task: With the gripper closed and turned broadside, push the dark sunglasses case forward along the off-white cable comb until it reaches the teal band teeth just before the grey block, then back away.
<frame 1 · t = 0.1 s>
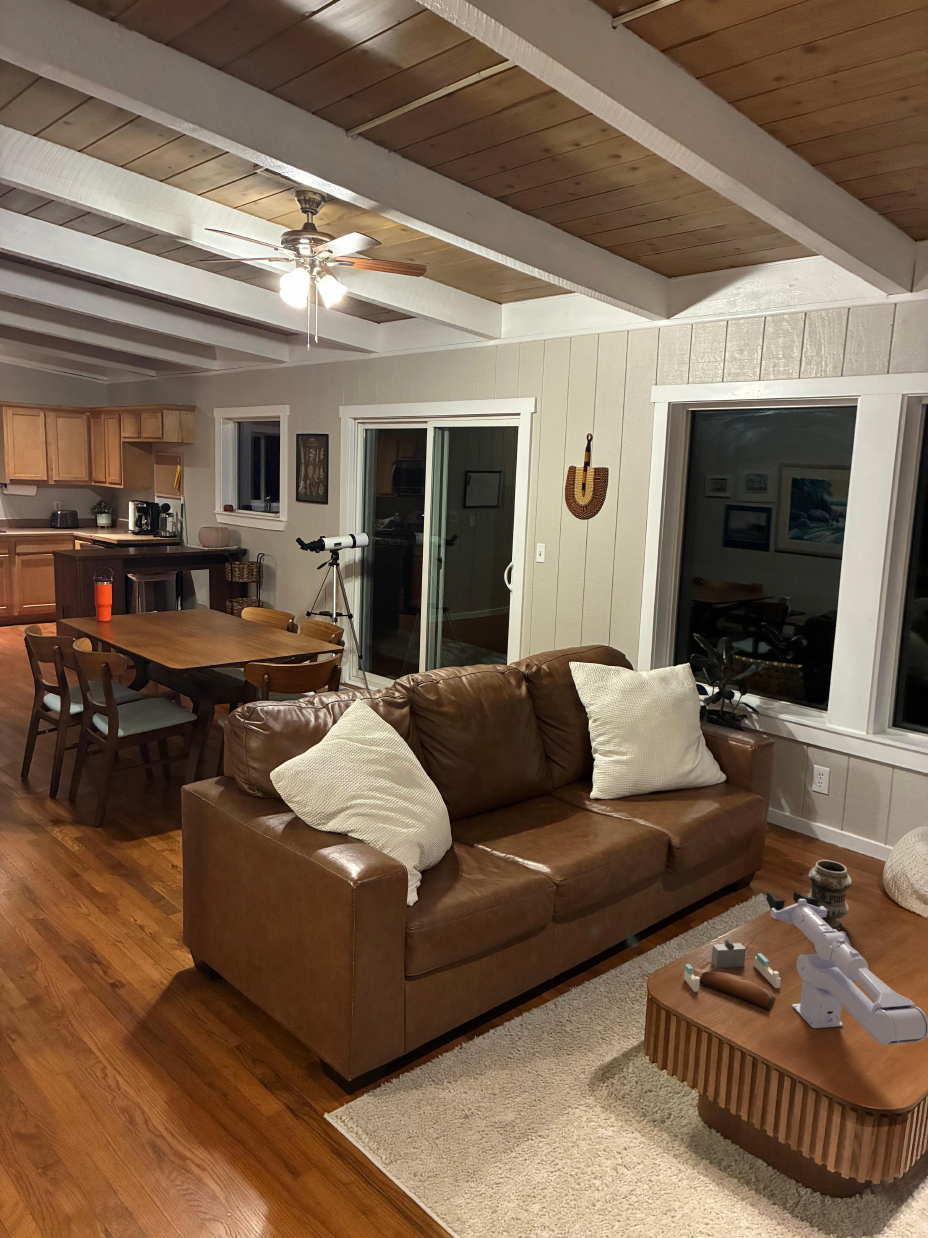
hand: (781, 895, 236), 22 cm above the table, tool horizontal, fingers open, 7 cm apart
sunglasses case: (738, 993, 230), on the table
apothecary jar: (824, 923, 268), on the table
cable comb: (728, 980, 234), on the table
grey block: (727, 964, 242), on the table
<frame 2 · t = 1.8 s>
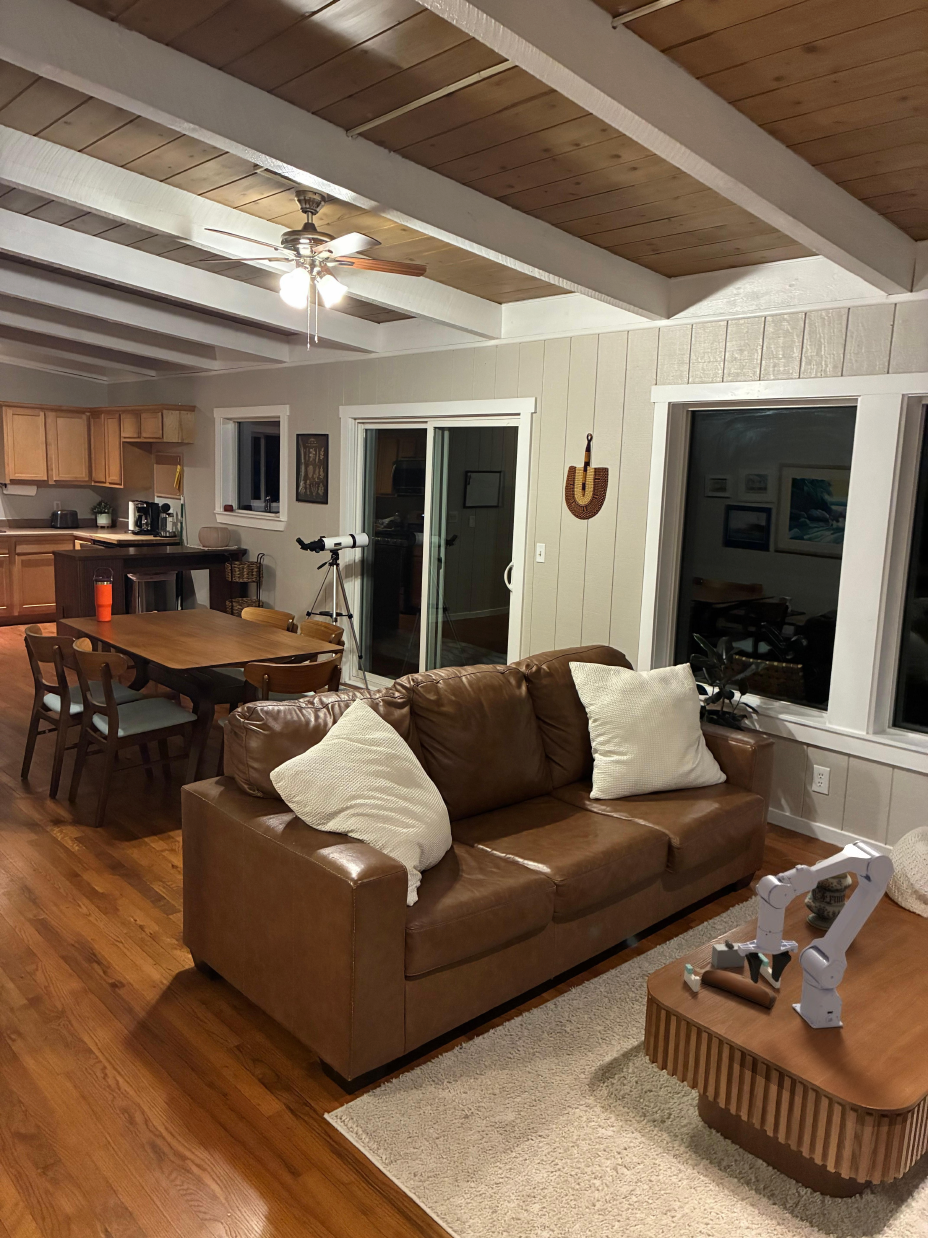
hand: (764, 980, 216), 10 cm above the table, tool pointing down, fingers open, 5 cm apart
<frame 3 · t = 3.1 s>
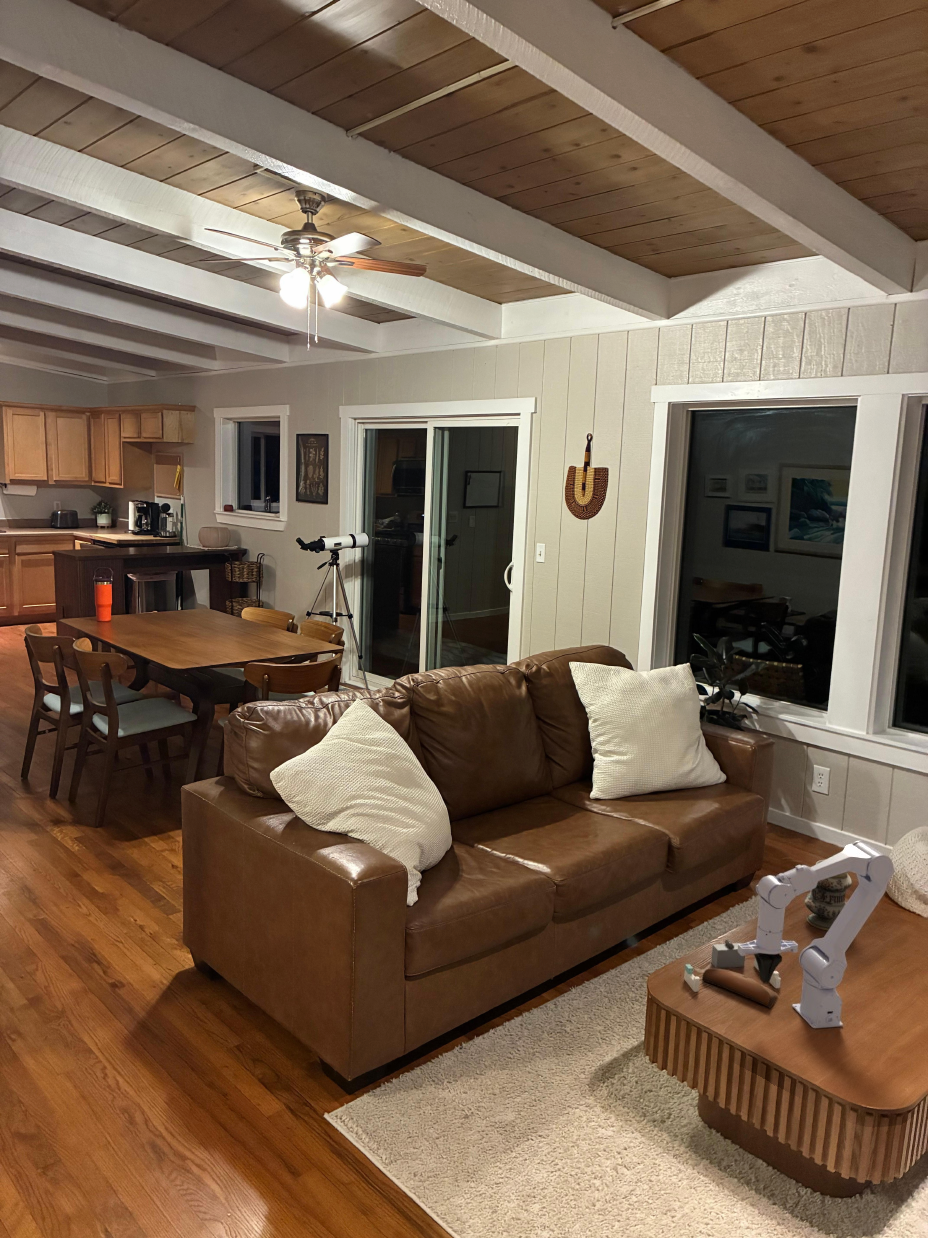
hand: (764, 980, 216), 10 cm above the table, tool pointing down, fingers closed
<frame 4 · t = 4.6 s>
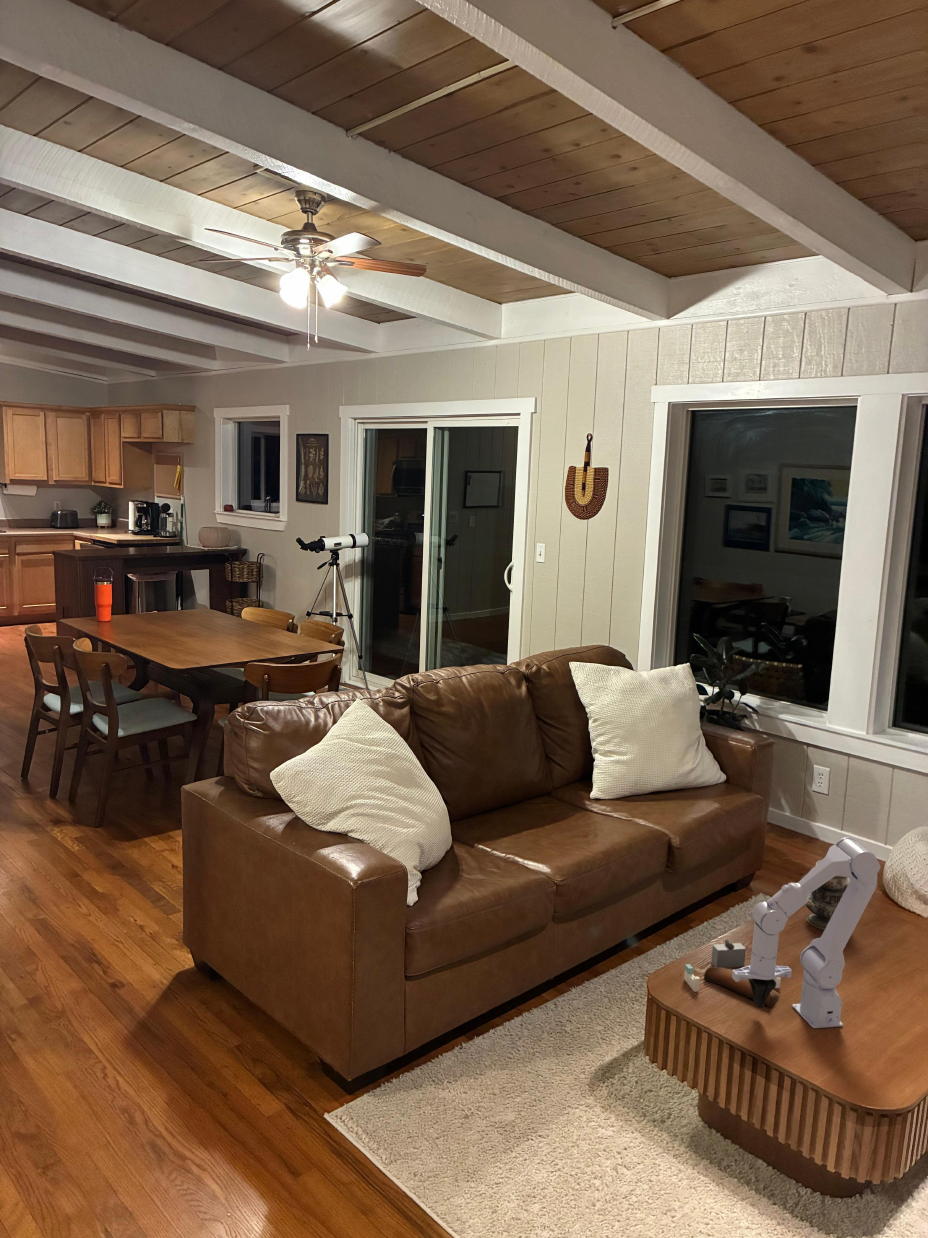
hand: (758, 1005, 219), 3 cm above the table, tool pointing down, fingers closed
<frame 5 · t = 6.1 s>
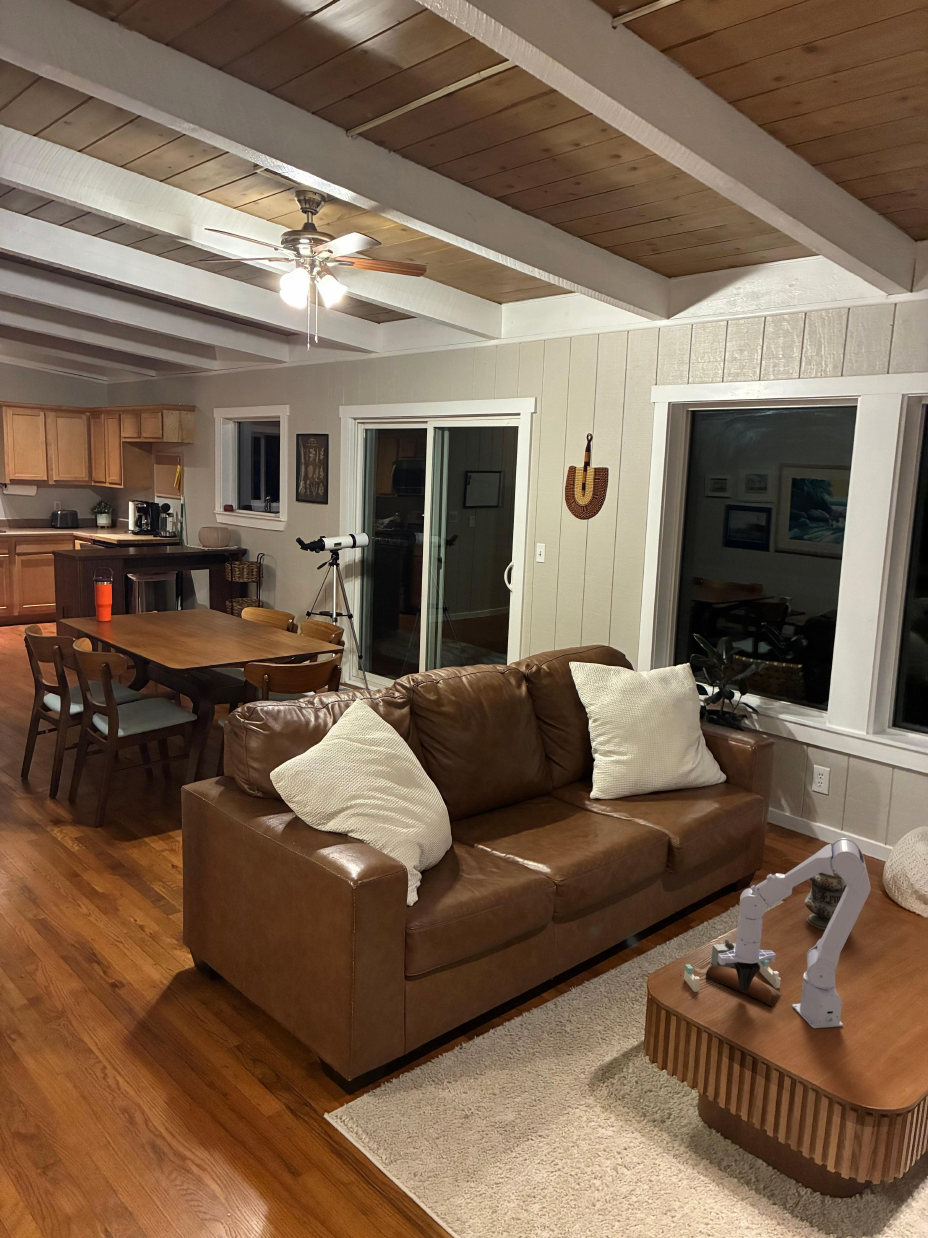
hand: (743, 988, 226), 3 cm above the table, tool pointing down, fingers closed
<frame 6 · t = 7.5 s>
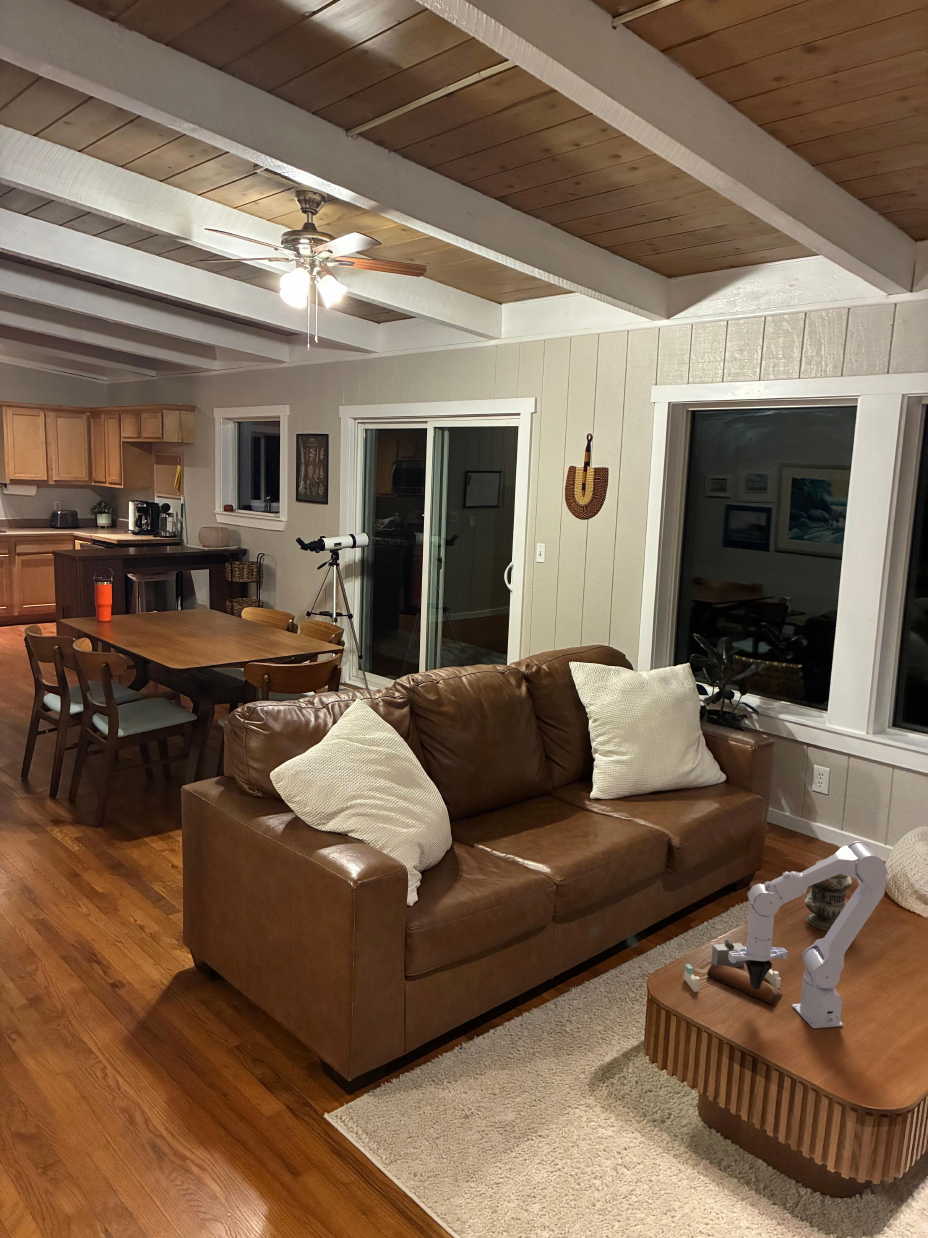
hand: (755, 987, 221), 6 cm above the table, tool pointing down, fingers closed
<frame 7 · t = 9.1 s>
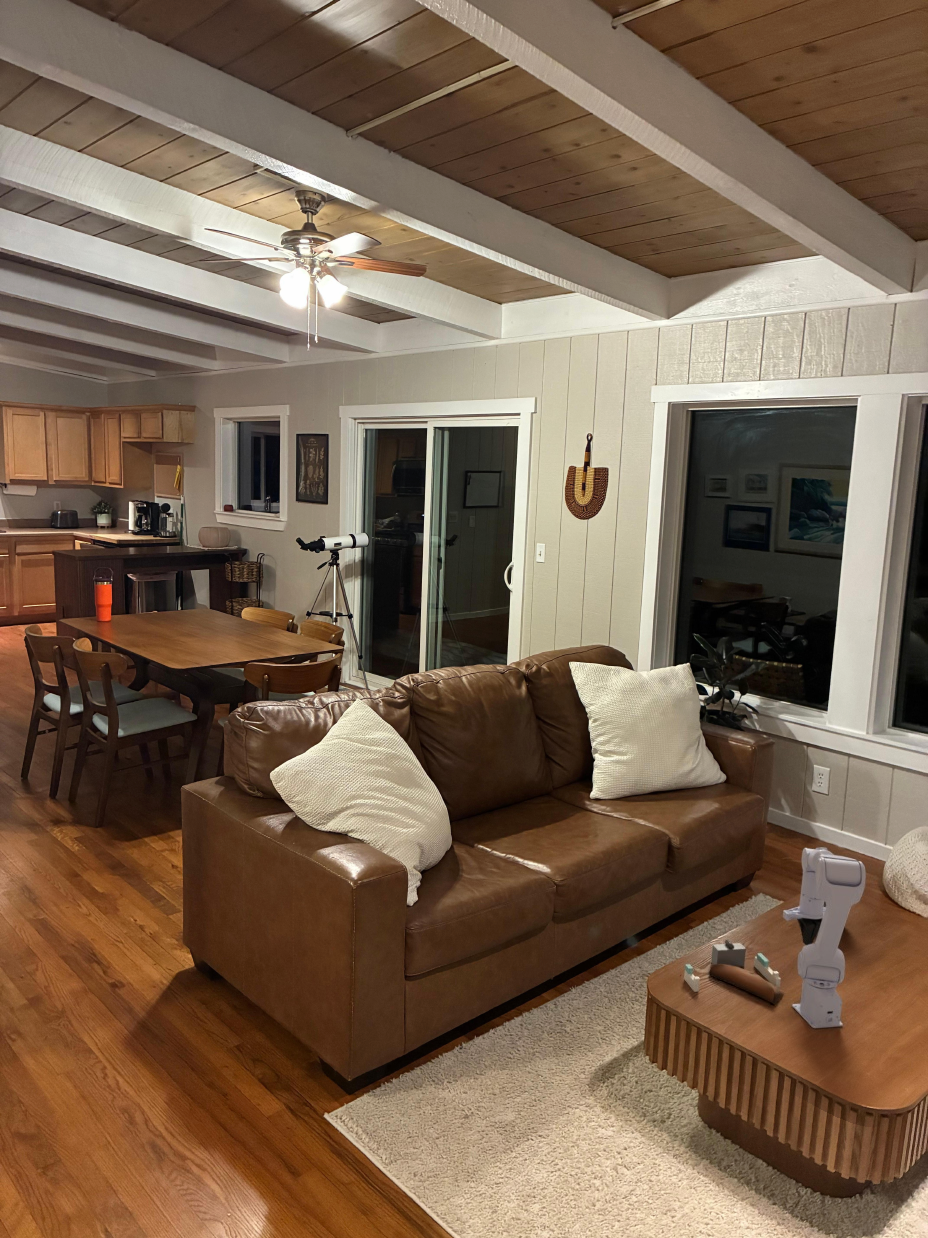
hand: (807, 944, 235), 10 cm above the table, tool pointing down, fingers closed
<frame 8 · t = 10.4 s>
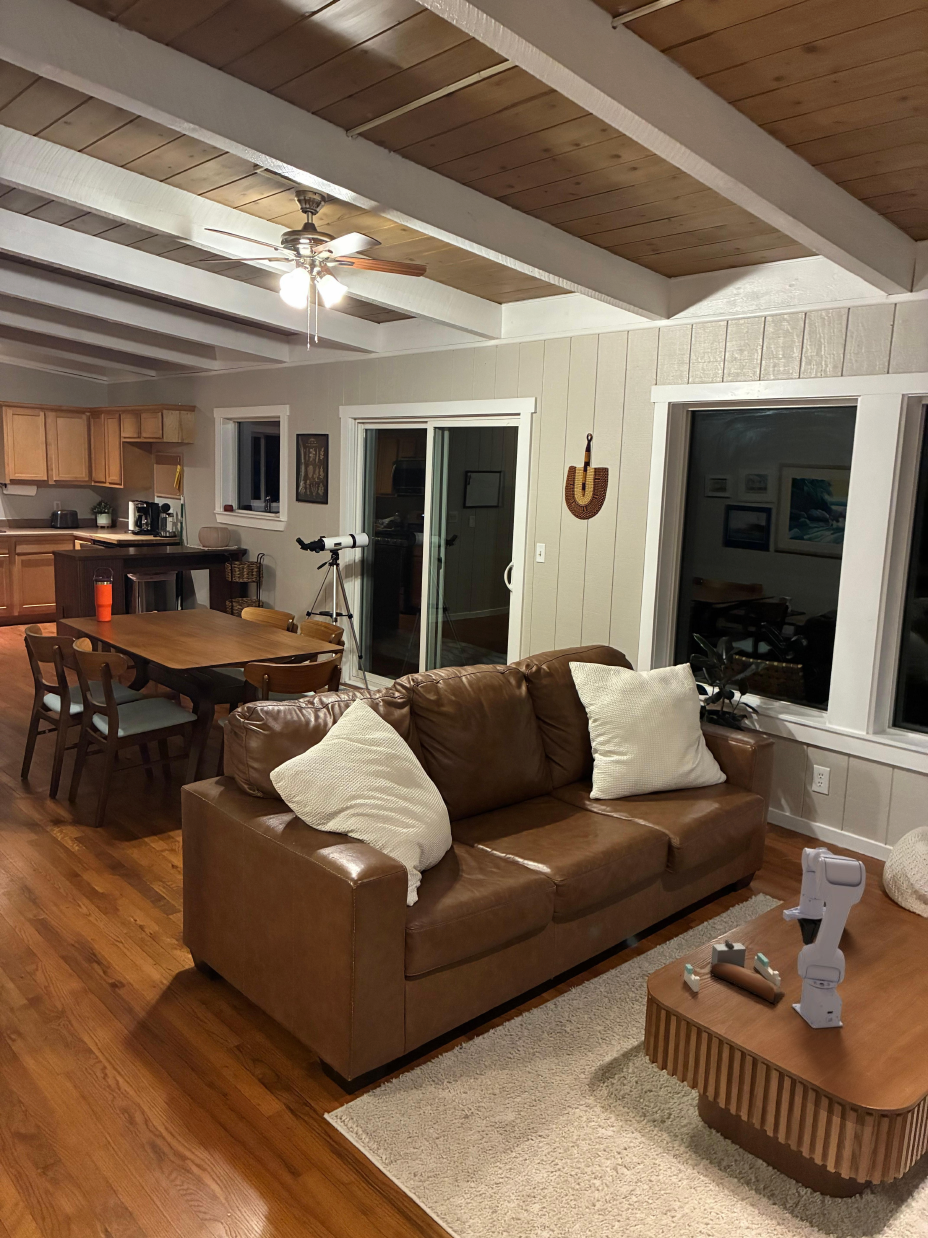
hand: (807, 944, 235), 10 cm above the table, tool pointing down, fingers closed
at the end: sunglasses case inside the target area (4.8 cm from its centre), on the table; sunglasses case moved 5.1 cm from its start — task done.
